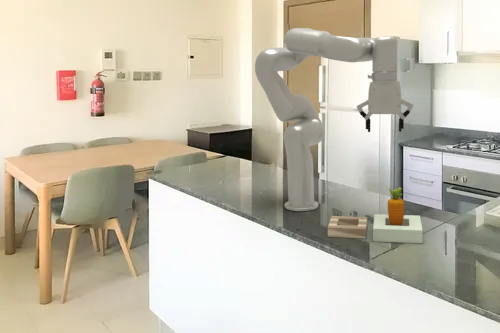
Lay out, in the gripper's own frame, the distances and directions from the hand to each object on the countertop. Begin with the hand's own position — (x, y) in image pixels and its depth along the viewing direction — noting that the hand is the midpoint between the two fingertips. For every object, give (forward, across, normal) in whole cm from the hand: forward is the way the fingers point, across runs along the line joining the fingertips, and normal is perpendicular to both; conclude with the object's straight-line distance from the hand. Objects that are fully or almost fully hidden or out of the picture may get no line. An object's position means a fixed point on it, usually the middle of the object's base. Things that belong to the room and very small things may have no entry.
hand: (384, 131), depth 164 cm
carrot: (+31, +4, -12) cm, 33 cm away
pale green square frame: (+30, +4, -12) cm, 33 cm away
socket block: (+30, -11, -11) cm, 34 cm away
